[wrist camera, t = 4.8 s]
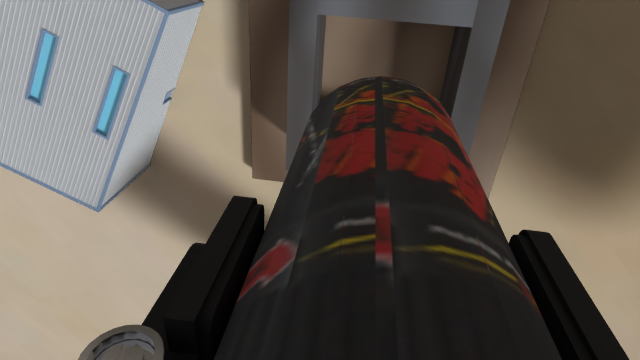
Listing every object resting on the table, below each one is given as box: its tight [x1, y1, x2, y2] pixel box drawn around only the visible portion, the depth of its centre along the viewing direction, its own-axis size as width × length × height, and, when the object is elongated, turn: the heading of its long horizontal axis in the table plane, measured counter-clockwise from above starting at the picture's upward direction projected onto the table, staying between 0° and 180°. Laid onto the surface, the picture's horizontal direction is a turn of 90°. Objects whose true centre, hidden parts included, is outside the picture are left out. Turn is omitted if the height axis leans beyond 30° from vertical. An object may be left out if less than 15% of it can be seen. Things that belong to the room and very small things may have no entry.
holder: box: [249, 0, 550, 198], centre depth 26 cm, size 18×18×6 cm
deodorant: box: [214, 76, 562, 360], centre depth 9 cm, size 6×6×15 cm
